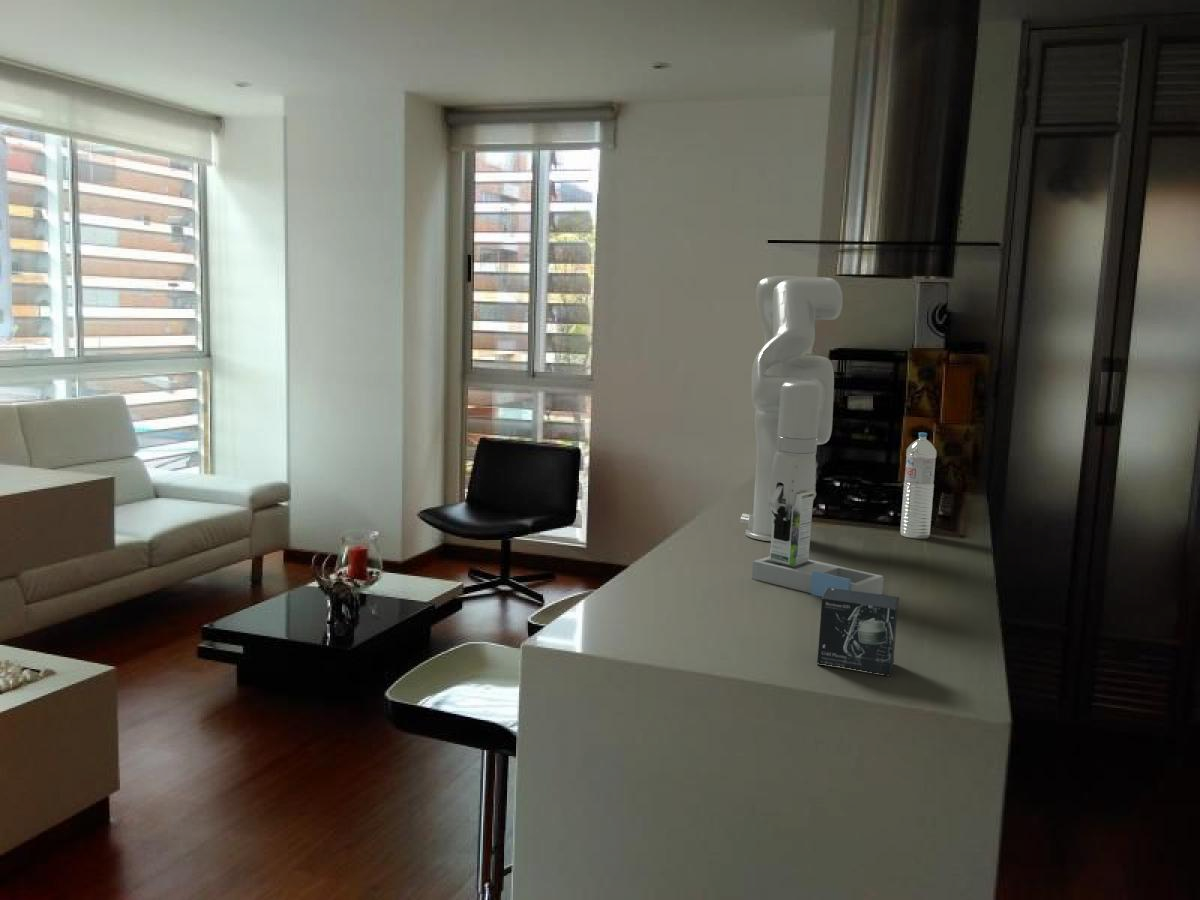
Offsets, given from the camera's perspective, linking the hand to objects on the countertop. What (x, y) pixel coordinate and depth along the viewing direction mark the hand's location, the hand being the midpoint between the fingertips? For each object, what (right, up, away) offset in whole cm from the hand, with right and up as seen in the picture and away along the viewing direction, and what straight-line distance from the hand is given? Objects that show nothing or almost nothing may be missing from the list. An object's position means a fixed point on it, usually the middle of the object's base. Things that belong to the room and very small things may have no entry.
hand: (790, 535), depth 187 cm
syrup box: (0, -5, +1) cm, 5 cm away
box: (+1, -15, -45) cm, 48 cm away
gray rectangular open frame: (+4, -9, -4) cm, 11 cm away
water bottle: (+38, -4, +43) cm, 58 cm away
